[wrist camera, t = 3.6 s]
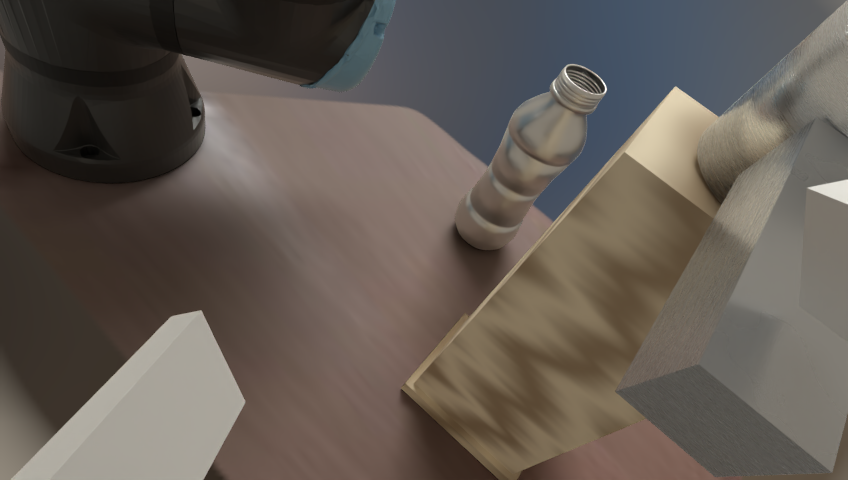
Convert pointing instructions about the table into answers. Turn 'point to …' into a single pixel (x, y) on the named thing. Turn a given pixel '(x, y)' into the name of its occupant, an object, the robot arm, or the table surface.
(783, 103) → the grey round-headed handle
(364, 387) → the table surface
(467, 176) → the table surface
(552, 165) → the plastic bottle
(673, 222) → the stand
